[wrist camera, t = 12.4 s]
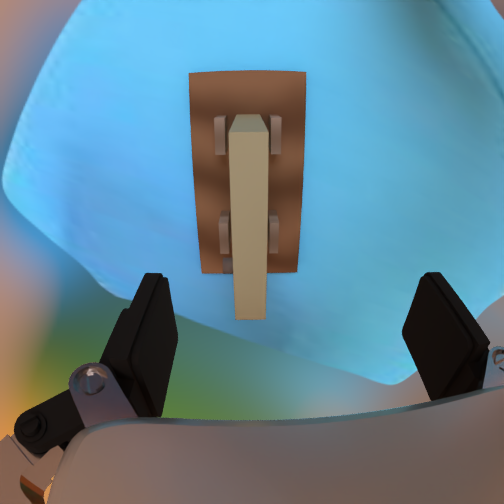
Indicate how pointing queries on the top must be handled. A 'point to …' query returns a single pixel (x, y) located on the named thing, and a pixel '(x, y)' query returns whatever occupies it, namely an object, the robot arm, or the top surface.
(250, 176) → the cabinet door
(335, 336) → the top surface
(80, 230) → the top surface
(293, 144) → the hinge base
